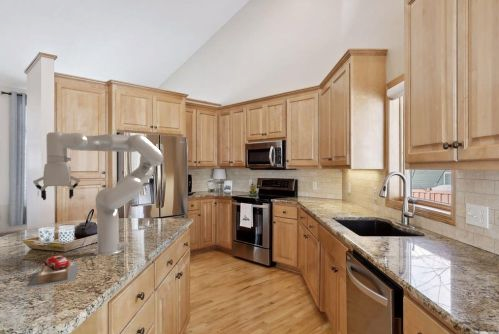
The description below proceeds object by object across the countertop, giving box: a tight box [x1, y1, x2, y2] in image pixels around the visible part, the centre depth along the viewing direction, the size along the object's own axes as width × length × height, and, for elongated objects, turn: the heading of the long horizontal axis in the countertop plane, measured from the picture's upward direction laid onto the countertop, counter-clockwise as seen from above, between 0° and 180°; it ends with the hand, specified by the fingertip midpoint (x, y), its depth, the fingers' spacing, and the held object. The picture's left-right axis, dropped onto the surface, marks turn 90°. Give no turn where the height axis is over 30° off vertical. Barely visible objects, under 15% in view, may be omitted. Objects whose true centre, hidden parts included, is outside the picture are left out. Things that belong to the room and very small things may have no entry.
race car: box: [44, 255, 69, 270], centre depth 110 cm, size 13×5×4 cm, turn 51°
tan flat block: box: [37, 259, 72, 285], centre depth 110 cm, size 9×15×3 cm, turn 28°
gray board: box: [27, 264, 79, 289], centre depth 110 cm, size 14×19×1 cm
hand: (57, 199), depth 127 cm, fingers open, 9 cm apart
